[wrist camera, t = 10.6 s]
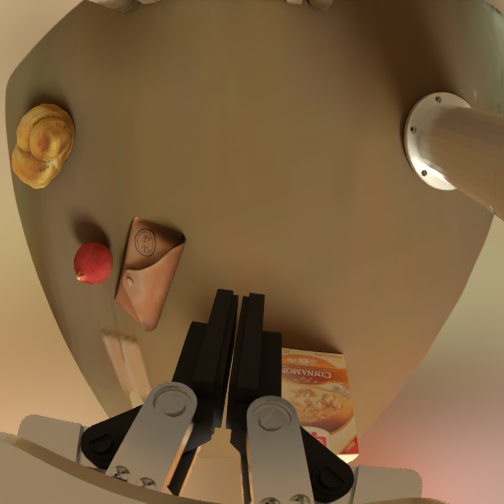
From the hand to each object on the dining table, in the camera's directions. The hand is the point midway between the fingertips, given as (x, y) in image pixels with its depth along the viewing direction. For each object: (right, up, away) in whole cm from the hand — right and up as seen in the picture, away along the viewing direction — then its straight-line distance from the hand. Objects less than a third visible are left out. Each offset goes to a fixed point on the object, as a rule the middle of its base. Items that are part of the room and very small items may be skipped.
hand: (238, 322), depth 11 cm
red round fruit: (-21, +3, +29) cm, 36 cm away
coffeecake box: (+9, -17, +38) cm, 42 cm away
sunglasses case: (-15, -1, +31) cm, 35 cm away
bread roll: (-28, +18, +21) cm, 39 cm away
